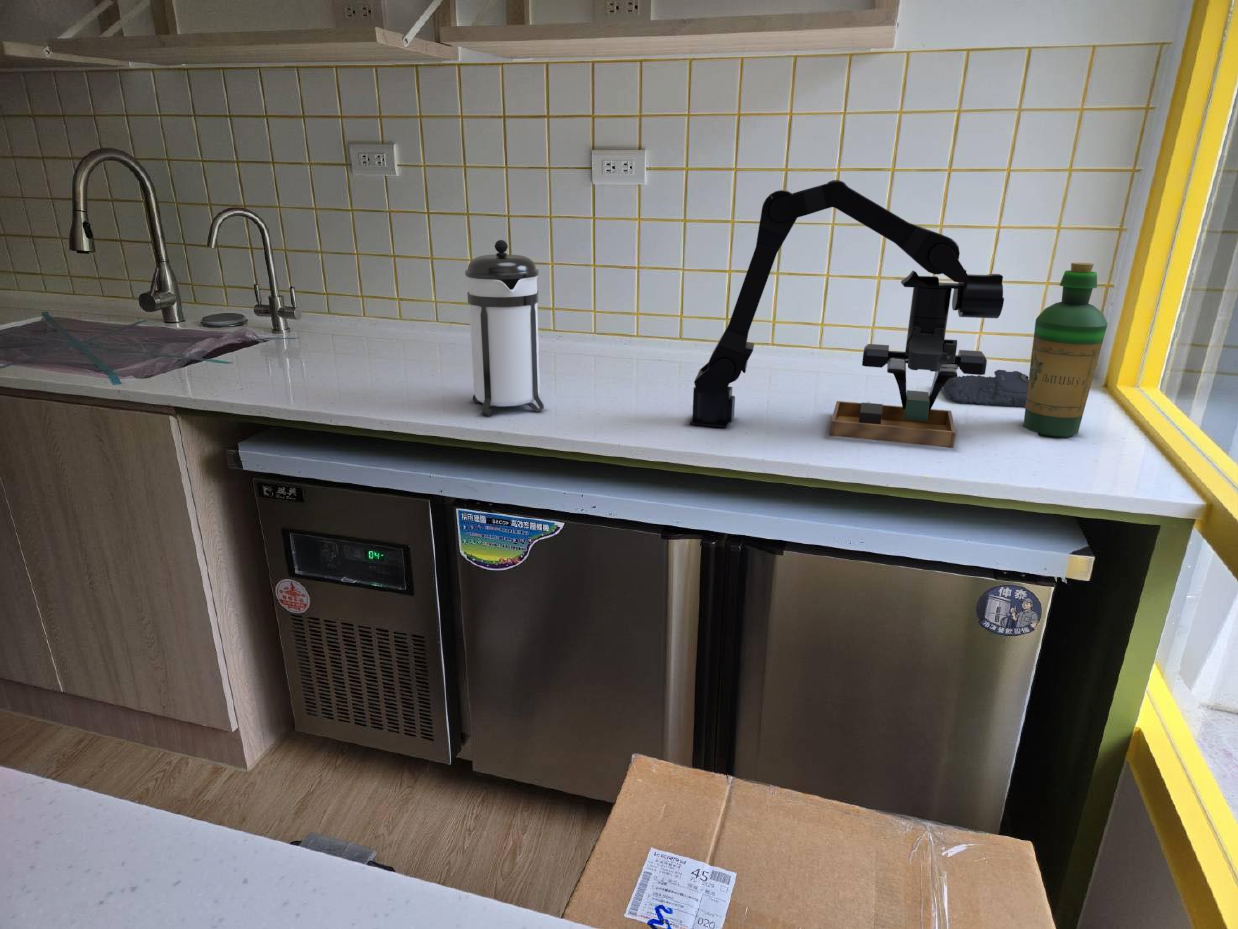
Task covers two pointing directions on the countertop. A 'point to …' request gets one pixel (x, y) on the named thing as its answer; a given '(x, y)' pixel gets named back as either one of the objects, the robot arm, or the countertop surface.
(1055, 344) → the bottle
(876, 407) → the dark grey block
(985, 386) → the dark slate chunk
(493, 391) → the coffee press
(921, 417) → the green block
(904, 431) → the wooden tray
